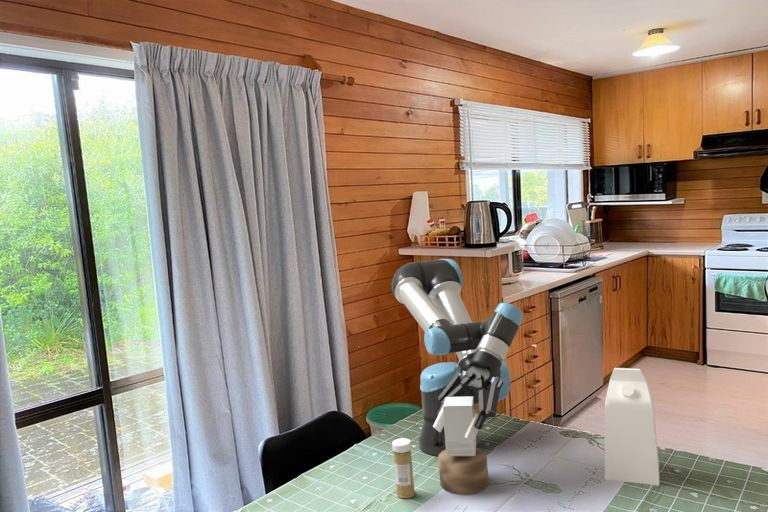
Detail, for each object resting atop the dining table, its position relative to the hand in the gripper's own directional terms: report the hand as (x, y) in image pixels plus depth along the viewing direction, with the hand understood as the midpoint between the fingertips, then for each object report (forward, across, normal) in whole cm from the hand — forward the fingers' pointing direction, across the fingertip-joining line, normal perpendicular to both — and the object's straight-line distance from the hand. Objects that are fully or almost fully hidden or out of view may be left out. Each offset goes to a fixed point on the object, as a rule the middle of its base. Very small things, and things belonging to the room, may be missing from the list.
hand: (452, 434), depth 141 cm
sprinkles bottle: (+17, +7, -2) cm, 19 cm away
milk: (-14, -28, -34) cm, 46 cm away
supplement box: (+1, 0, -6) cm, 6 cm away
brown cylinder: (+7, 0, -12) cm, 14 cm away
